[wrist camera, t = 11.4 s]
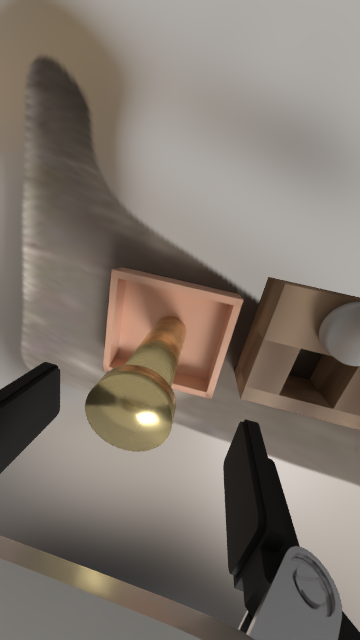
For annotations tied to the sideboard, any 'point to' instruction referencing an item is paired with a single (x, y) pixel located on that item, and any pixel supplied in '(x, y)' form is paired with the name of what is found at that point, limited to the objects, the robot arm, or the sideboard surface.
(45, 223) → the sideboard surface
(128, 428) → the pin
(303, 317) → the block
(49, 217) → the sideboard surface
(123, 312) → the tray
